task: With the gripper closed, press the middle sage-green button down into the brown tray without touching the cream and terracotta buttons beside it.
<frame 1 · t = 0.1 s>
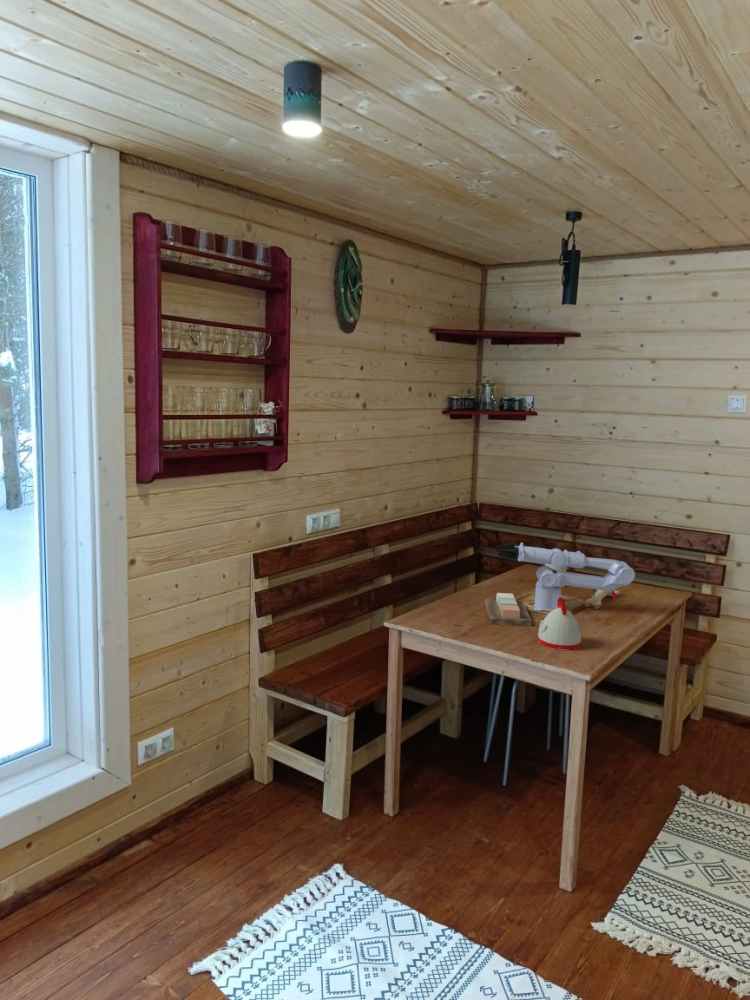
hand: (496, 550, 282), 22 cm above the table, tool horizontal, fingers open, 7 cm apart
pale green cup: (554, 585, 319), on the table
brown tray: (507, 614, 276), on the table
sage button: (507, 606, 276), point 3 cm above the table, slide at 0.0 cm
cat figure: (601, 601, 299), on the table
kitchen timer: (558, 643, 249), on the table
terracotta button: (510, 612, 268), point 3 cm above the table, slide at 0.0 cm
cream button: (505, 600, 283), point 3 cm above the table, slide at 0.0 cm
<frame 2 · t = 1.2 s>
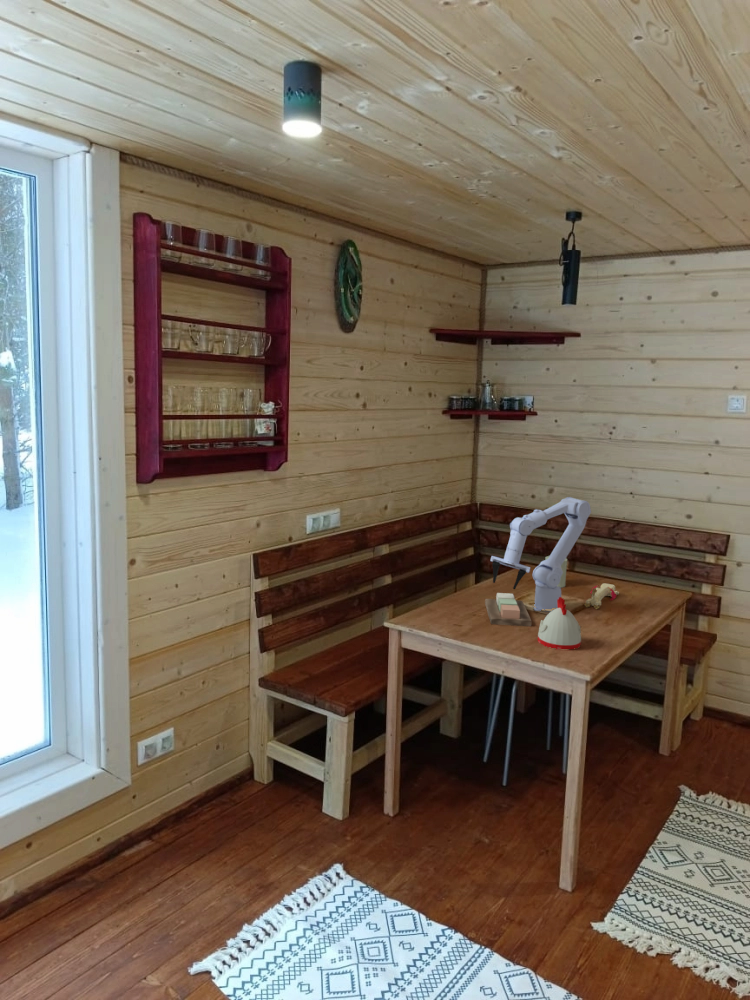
hand: (503, 585, 275), 11 cm above the table, tool pointing down, fingers open, 7 cm apart
nothing on the table moved.
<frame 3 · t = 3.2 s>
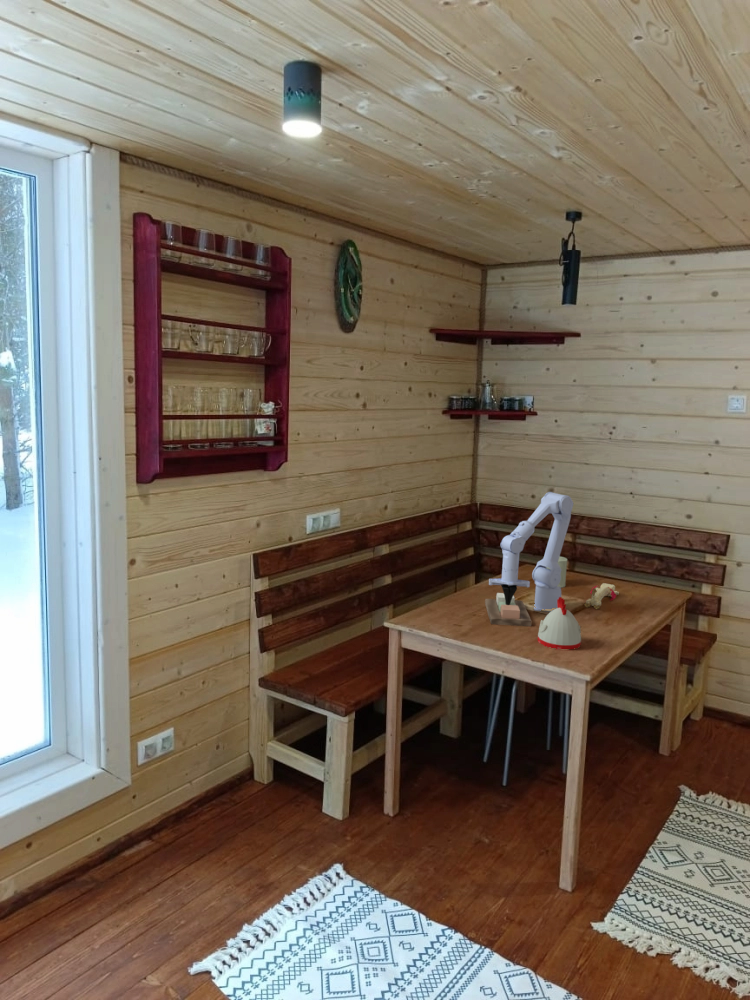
hand: (507, 604, 275), 4 cm above the table, tool pointing down, fingers closed, pressing on sage button
sage button: (507, 609, 276), point 2 cm above the table, slide at 1.2 cm, touching gripper
everything else where it was.
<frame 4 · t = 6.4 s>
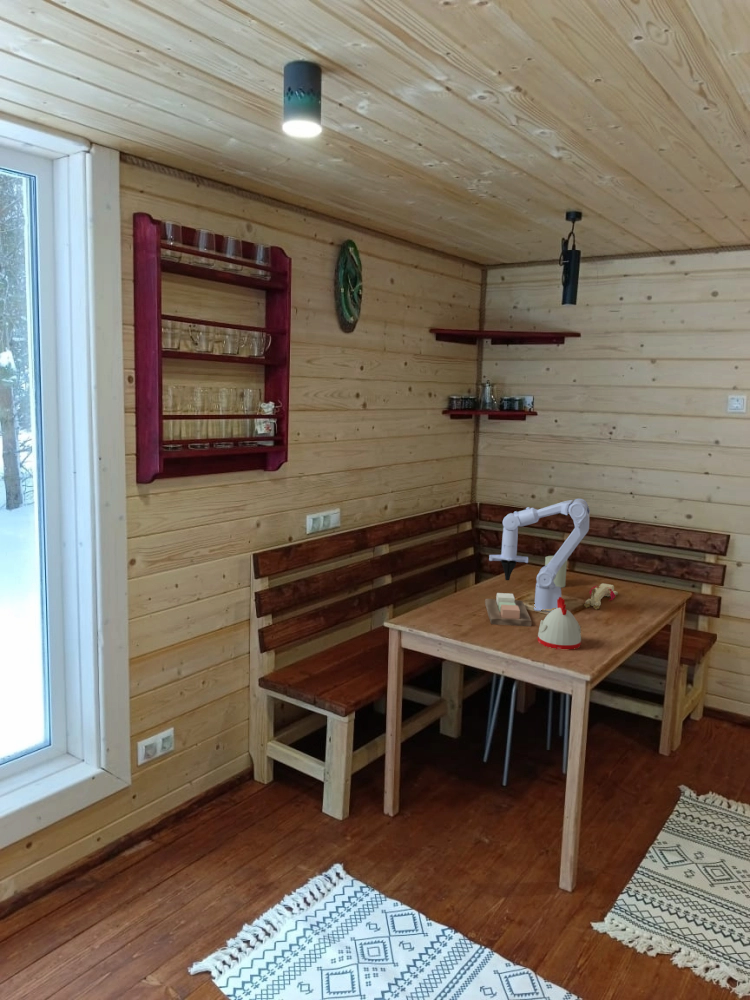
hand: (507, 579, 288), 9 cm above the table, tool pointing down, fingers closed
sage button: (507, 609, 276), point 2 cm above the table, slide at 1.3 cm
everything else where it was.
at the end: sage button slide at 1.3 cm; cream button slide at 0.0 cm; terracotta button slide at 0.0 cm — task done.
